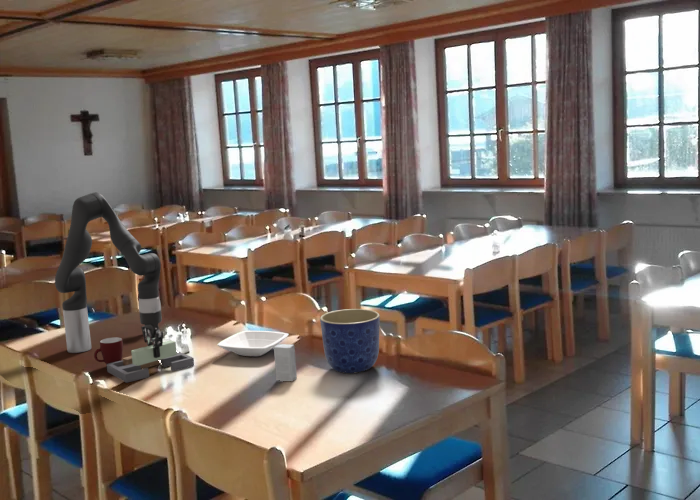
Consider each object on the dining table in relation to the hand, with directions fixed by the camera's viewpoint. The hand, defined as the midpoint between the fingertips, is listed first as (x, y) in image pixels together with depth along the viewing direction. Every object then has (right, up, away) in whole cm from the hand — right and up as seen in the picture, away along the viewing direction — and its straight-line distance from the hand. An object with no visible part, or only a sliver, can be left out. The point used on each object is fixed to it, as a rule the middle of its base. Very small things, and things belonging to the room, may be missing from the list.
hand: (154, 355), depth 295 cm
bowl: (+34, -1, +17) cm, 38 cm away
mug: (-19, -6, +10) cm, 22 cm away
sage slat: (0, -1, 0) cm, 1 cm away
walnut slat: (-5, -5, +8) cm, 11 cm away
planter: (+71, -4, -8) cm, 72 cm away
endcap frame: (-2, -5, +5) cm, 7 cm away
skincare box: (+49, -6, -16) cm, 52 cm away
